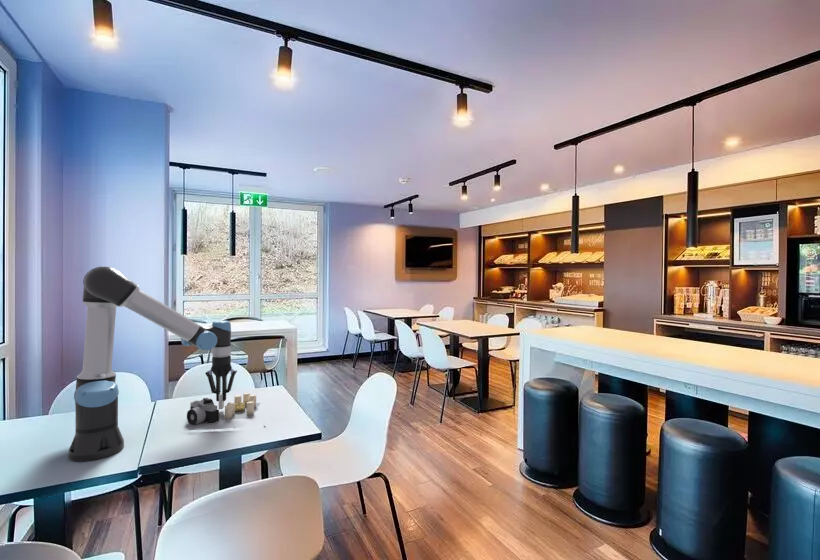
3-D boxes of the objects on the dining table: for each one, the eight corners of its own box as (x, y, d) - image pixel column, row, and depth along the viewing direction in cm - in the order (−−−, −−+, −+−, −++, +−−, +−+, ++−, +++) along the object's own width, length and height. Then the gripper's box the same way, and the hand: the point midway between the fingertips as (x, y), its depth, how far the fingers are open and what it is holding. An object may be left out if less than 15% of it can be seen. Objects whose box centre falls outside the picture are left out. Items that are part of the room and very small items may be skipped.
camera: (178, 423, 165) (178, 399, 165) (198, 416, 173) (198, 393, 173) (202, 430, 158) (202, 405, 158) (222, 423, 166) (222, 399, 166)
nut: (243, 412, 177) (243, 405, 177) (233, 412, 176) (233, 405, 176) (246, 408, 181) (246, 402, 181) (235, 409, 180) (235, 402, 180)
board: (251, 420, 170) (251, 406, 170) (221, 421, 168) (221, 407, 168) (260, 404, 189) (260, 392, 189) (233, 406, 187) (233, 393, 187)
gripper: (239, 353, 182) (238, 404, 182) (208, 354, 179) (208, 406, 180) (234, 356, 174) (234, 410, 174) (203, 357, 172) (202, 411, 172)
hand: (221, 408), depth 177 cm, fingers closed
